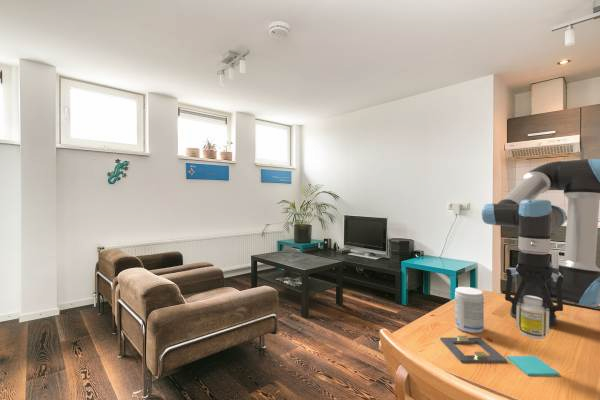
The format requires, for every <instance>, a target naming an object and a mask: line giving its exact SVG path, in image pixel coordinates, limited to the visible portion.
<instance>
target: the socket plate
mask: <svg viewBox="0 0 600 400" xmlns="http://www.w3.org/2000/svg"><path fill="white" fill-rule="evenodd" d="M439 341H441V343H442V344H444V346H446V348H447V349H448V350H449V351H450V352H451V354H452V355H454V356H455V358H456V359H457V360H458V362H460V363H508V359H507V358H506V357H504V356H503V355H502V354H501V353H499V352H498V351H497V350H496V349H494V348H493V347H492V345H489V343H488V342H486V341H485V340H484V339H482V338H481V337H469V336H467V335H457V337H440V340H439ZM456 344H477V345H478V346H479V347H480V348H482V349H483V350H484V351H474V355H468V354H464V353H463V352H462V350H461V349H460V348H459V347H457V346H456Z"/></svg>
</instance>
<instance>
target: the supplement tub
mask: <svg viewBox="0 0 600 400" xmlns="http://www.w3.org/2000/svg"><path fill="white" fill-rule="evenodd" d="M454 291H455V292H454V316H455V317H454V320H455V323H454V324H455V327H456V328H457V329H459V330H460V331H463V332H465V333H469V334H480V333H482V332H483V331H484V327H485V324H484V323H485V322H484V321H485V320H484V319H485V315H484V314H485V311H484V310H485V309H484V308H485V307H484V303H485V301H484V300H485V299H484V292H483V290H481V289H478V288H476V287H469V286H459V287H455V290H454Z"/></svg>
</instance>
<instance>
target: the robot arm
mask: <svg viewBox="0 0 600 400" xmlns="http://www.w3.org/2000/svg"><path fill="white" fill-rule="evenodd" d="M548 191H563V195H564V196H565V197H566V198H567V200H568V201H567V213H566V211H565V210H564V209H563V208H562V207H560V206H557V205H554V204H552V202H551V201H550V200H547V199H536V198H538V197H539V195H541V194H544V193H546V192H548ZM599 213H600V158H587V159H586V158H585V159H573V160H557V161H552V162H551V161H550V162H546V163H543V164H541V165H539V166H537V167H535V168H532V169H531V170H529V171H528V172H527V173H526V174H525V175H523V176H522V179H521V182H519V183H518V184H517V186H515V187H514V188H513V189H512V190H511V191H510V192H509V193H507V194H506V195H504V197H503V198H501V200H499V201H498V202H497V203H493V202H492V203H486V204H484V205H483V207H482V209H481V217H482V218H481V219H482V221H483V223H485V224H486V225H493V226H501V227H502V226H503V227H516V228H518V244H517V245H518V246H517V247H518V250H519V251H518V253H517V254H518V255H517V265H516V267H512V268H511V267H507V268H506V269H505V273H506V288H505V294H504V295H505V296H504V299H505V301H507V302H509V303H511V306H510V308H509V309H510V310H509V314H510V316H511V317H512V318H514V319H515V321H516V323H515V326H516V327H517V328H520V305H521V304H522V303H524V302H523V296H535V297H539V298H541V299H543V305H542V306H543V307H544V308H545V310H546V332H545V333H546V335H550V327H551V326H552V327H553V326H556V325H557V322H558V321H557V320H558V319H557V314H556V312H563V311H564V302H569V303H573V304H578V305H580V306H587V307H592V308H596V307H598V306H600V268H599V267H598V266H597V265H596V260H597V246H598V245H597V244H598V231H599V229H598V228H599V216H600V215H599ZM565 223H566V226H565V227H566V232H565V243H564V245H565V246H564V256H563V257H564V259H563V261H562V262H560V263H558V266H557V267H558V268H557V267H556V268H555V267H553V264H552V263H551V254H550V252H551V251H552V249H551V245H552V244H551V241H552V237H551V234H552V230H554V229H555V230H556V229H558V228H560V227H562V226H563V225H564V224H565ZM514 276H515V294H514V296H511V295H512V291H513V290H512V289H513V282H514V281H513V280H514ZM553 299H556V304H555V305H554V301H553ZM563 301H564V302H563Z"/></svg>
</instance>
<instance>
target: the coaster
mask: <svg viewBox="0 0 600 400" xmlns="http://www.w3.org/2000/svg"><path fill="white" fill-rule="evenodd" d="M505 359H507V361H509V362H511V363H512V364H513V365H514V366H515V367H517V368H518V370H520V371H521V372H523V373H525V375H526V376H529V377H530V376H531V377H532V376H534V377H535V376H537V377H538V376H539V377H541V376H543V377H544V376H547V377H549V376H550V377H551V376H552V377H553V376H555V375H557V376H558V375H560V372H558V370H556V369H554V368H553V367H551V366H550V365H548V363H546V362H544V361H543V360H541V359H540V358H539V357H537V356H536V355H506V357H505ZM560 376H561V375H560Z"/></svg>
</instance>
